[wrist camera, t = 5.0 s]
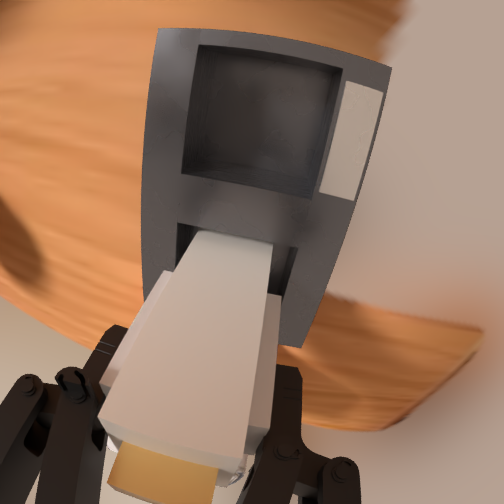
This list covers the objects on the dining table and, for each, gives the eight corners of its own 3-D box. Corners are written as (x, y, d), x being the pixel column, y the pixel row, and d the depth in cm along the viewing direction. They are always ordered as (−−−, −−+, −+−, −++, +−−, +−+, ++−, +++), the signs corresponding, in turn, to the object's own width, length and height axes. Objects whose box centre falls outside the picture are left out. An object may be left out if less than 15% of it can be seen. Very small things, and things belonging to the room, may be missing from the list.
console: (187, 40, 13) (156, 27, 10) (369, 72, 13) (393, 67, 9) (165, 276, 21) (143, 314, 18) (301, 306, 21) (301, 350, 18)
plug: (203, 222, 17) (76, 462, 5) (273, 237, 17) (233, 512, 5) (197, 279, 19) (111, 492, 7) (260, 293, 19) (219, 523, 7)
